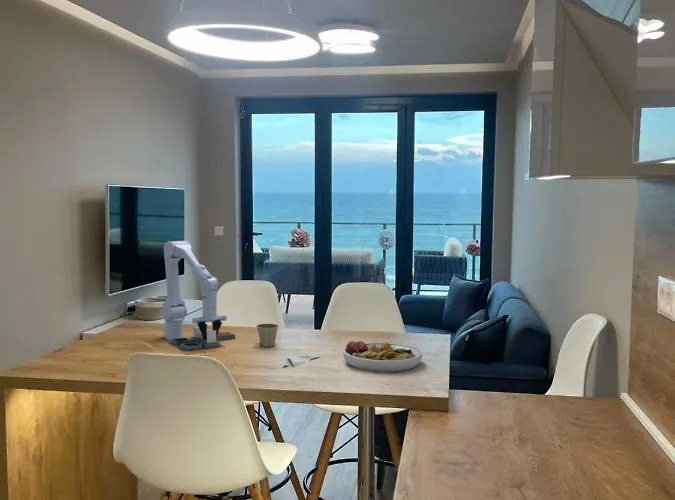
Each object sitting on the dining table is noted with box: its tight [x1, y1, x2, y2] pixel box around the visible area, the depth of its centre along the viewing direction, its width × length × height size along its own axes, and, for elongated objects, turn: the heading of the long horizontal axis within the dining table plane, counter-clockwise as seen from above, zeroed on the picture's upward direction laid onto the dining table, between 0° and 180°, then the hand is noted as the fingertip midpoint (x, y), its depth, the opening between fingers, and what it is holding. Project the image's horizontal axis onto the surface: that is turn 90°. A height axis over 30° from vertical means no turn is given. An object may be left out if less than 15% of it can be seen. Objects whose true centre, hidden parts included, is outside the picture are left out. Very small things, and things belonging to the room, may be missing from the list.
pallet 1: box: [165, 336, 203, 348], centre depth 269 cm, size 10×18×2 cm, turn 125°
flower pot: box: [256, 323, 279, 348], centre depth 269 cm, size 9×9×9 cm
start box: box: [216, 330, 236, 342], centre depth 278 cm, size 8×8×3 cm
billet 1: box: [192, 326, 203, 339], centre depth 271 cm, size 4×4×6 cm
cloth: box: [282, 353, 321, 368], centre depth 244 cm, size 26×14×2 cm, turn 138°
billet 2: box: [203, 328, 217, 344], centre depth 262 cm, size 4×4×6 cm
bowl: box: [342, 340, 423, 373], centre depth 241 cm, size 30×30×8 cm
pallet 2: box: [175, 340, 226, 353], centre depth 260 cm, size 10×18×2 cm, turn 125°
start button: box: [218, 330, 228, 335], centre depth 278 cm, size 4×4×2 cm
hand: (209, 339), depth 262 cm, fingers closed on billet 2, 4 cm apart
